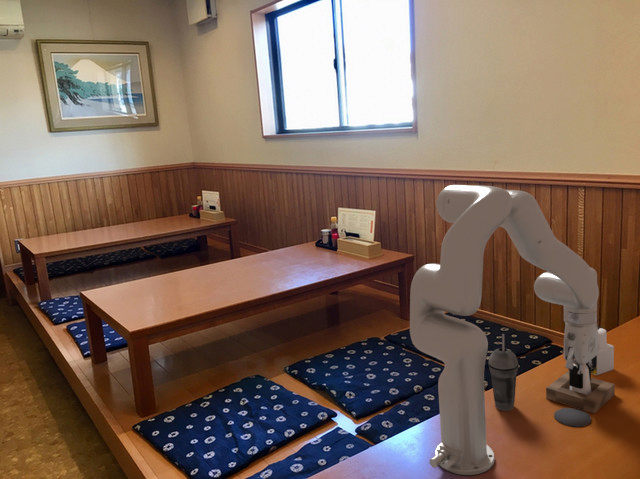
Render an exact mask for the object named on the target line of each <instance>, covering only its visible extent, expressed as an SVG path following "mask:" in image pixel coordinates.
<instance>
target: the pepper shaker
mask: <svg viewBox="0 0 640 479" xmlns="http://www.w3.org/2000/svg"><path fill="white" fill-rule="evenodd" d="M574 360H576V359H574ZM573 365H574V366H576V367H577V368H578V364H574V363H573ZM581 373H582V374H583V388H582V389H579V388H576V387H572V386H570V389H569V390H572V391H576V392H579V393H582V394H586V395H589V394H590V393H591V386H590V377H589V369H588V366H587V365H586V364H584V365H582V372H581Z"/></svg>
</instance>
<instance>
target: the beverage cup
mask: <svg viewBox="0 0 640 479" xmlns="http://www.w3.org/2000/svg"><path fill="white" fill-rule="evenodd" d="M501 339H502V340H501V342H502V343H501V344H502V346H501V347H500V348H497V349H494V350H493V351H492V352H491V354H490V355H489V357H488V362H487V365H488V368H489V373H490V378H491V385H492V391H493V392H492V393H493V401H494V405H495V408H496V409H497V410H498V411H504V412H509V411H513V409H514V408H515V403H516V402H515V401H516V400H515V399H516V387H517V386H516V385H517V375H518V370H519V367H520V366H519V362H518V358H517V356H516V354H515V353H514V352H513V351H512V350H510V349H508V348H505V333H502V334H501Z"/></svg>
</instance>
